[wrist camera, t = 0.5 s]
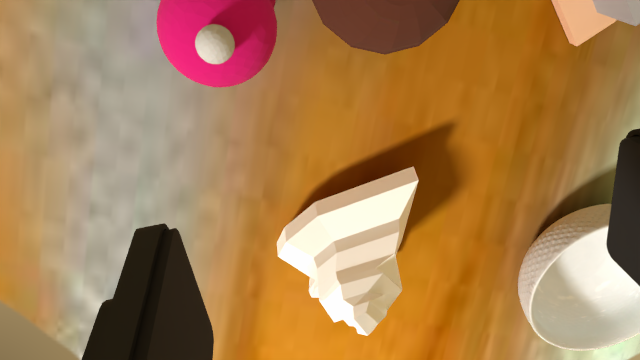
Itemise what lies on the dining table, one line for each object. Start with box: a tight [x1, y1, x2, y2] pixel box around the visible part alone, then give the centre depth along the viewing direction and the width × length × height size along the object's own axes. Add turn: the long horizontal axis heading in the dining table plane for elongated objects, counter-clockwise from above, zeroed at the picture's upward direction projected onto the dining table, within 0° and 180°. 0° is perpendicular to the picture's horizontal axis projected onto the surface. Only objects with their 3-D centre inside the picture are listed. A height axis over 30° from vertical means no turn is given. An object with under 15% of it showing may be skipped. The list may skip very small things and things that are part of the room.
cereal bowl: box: [518, 204, 640, 350], centre depth 56 cm, size 17×17×7 cm
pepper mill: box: [157, 0, 277, 87], centre depth 32 cm, size 7×7×20 cm
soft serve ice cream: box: [277, 166, 419, 335], centre depth 48 cm, size 12×15×14 cm
